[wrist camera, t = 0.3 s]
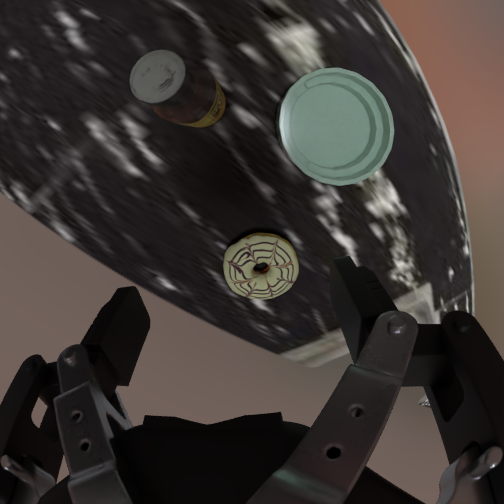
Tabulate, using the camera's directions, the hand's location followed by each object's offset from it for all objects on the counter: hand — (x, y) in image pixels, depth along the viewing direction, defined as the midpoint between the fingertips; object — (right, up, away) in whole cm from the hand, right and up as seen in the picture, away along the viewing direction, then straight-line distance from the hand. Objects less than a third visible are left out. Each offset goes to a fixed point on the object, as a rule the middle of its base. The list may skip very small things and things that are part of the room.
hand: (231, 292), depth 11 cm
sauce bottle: (-6, +21, +22) cm, 31 cm away
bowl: (+11, +19, +23) cm, 32 cm away
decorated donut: (+2, 0, +32) cm, 32 cm away
